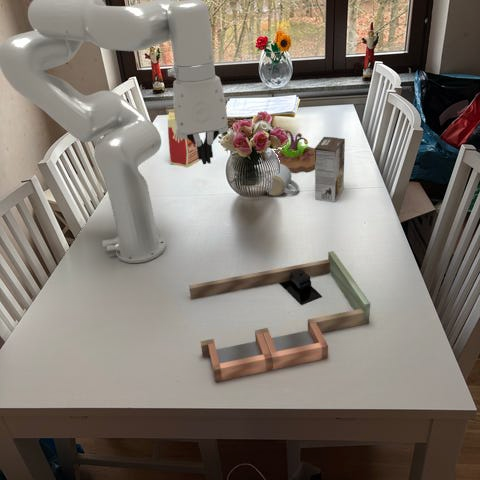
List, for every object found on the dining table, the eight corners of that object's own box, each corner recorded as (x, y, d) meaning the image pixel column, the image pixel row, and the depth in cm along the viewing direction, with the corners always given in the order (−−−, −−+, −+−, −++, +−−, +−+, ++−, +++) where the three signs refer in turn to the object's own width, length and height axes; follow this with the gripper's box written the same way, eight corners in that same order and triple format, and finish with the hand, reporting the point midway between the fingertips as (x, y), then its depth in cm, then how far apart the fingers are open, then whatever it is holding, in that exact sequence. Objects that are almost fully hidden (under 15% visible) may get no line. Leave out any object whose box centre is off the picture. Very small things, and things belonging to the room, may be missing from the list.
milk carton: (203, 158, 178) (196, 103, 167) (188, 167, 171) (179, 111, 161) (183, 154, 182) (175, 101, 172) (167, 164, 176) (158, 108, 165)
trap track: (208, 383, 87) (205, 363, 84) (190, 296, 109) (187, 278, 106) (384, 345, 92) (386, 325, 89) (333, 269, 113) (333, 251, 111)
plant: (277, 148, 181) (276, 119, 175) (328, 154, 173) (329, 123, 167) (254, 170, 166) (252, 138, 160) (310, 176, 158) (310, 143, 152)
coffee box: (323, 186, 151) (323, 136, 142) (344, 189, 148) (345, 137, 140) (314, 199, 144) (314, 147, 135) (335, 202, 141) (337, 149, 133)
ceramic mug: (261, 196, 148) (260, 173, 144) (267, 184, 155) (267, 162, 151) (296, 199, 145) (296, 175, 141) (301, 187, 152) (301, 164, 148)
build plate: (330, 302, 105) (330, 284, 102) (301, 313, 102) (300, 296, 100) (299, 272, 114) (298, 256, 112) (271, 282, 112) (270, 266, 109)
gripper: (157, 81, 90) (172, 173, 100) (237, 71, 92) (244, 162, 102) (155, 72, 96) (169, 160, 106) (229, 63, 98) (237, 150, 108)
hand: (206, 161), depth 104 cm, fingers closed
